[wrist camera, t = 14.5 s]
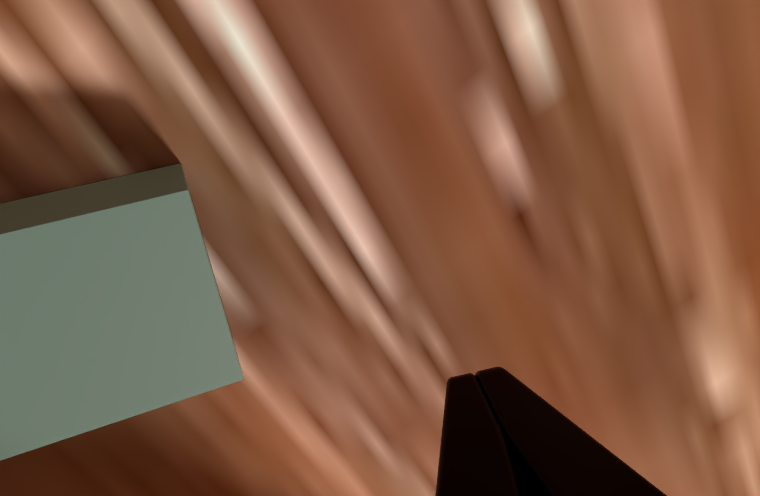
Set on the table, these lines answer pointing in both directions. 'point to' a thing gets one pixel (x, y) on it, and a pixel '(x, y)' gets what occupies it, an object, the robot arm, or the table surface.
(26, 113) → the table surface
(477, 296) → the table surface
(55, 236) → the teal domino
